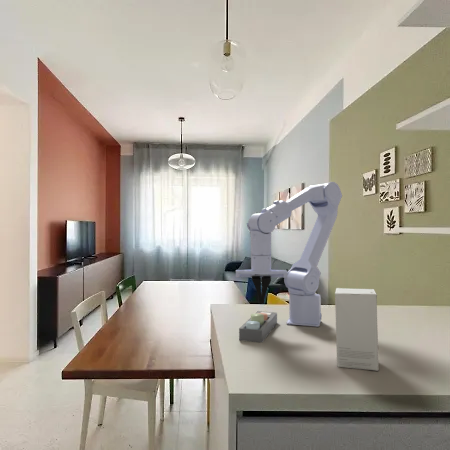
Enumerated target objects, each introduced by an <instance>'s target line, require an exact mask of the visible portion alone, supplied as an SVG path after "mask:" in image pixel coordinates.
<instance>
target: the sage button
mask: <svg viewBox="0 0 450 450" xmlns="http://www.w3.org/2000/svg"><path fill="white" fill-rule="evenodd" d="M250 318H251V321H257V322H259V323H260V325H264V315H263V314H258V313H256V312H255V313H251V314H250Z"/></svg>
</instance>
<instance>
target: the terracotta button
mask: <svg viewBox="0 0 450 450" xmlns="http://www.w3.org/2000/svg"><path fill="white" fill-rule="evenodd" d="M258 314H263V315H264V320H266V321H267V320H268V315H267V314H266V313H258Z"/></svg>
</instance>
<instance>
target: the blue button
mask: <svg viewBox="0 0 450 450" xmlns="http://www.w3.org/2000/svg"><path fill="white" fill-rule="evenodd" d="M245 323H246V329H255V330H259V329H260V323H259V322H257V321H249V322H247V321H245Z"/></svg>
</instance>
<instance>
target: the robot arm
mask: <svg viewBox="0 0 450 450" xmlns="http://www.w3.org/2000/svg"><path fill="white" fill-rule="evenodd" d="M342 197H343V194H342V191H341V187H340V186H339V185H338V183H337V182H335V181H329V182H324V183H319V184H310V185H309V186H307V187H304V189H302V190H301V191H300V192H298V193H296V194H295V195H293V196H292V197H290V198H288V199H287V200H278V199H277V200H274V201H273V202H272V205H270V206H268V207H265V208H261V209H260V212H259V213H257V212H256V213H253V214H251V216H250V217H249V218H248V222H247V223H246V225H247V226H246V227H247V229H248V231H249V233H250V255H251V256H250V267H251V268H250V269H236V270H235V278H251V280H252V282H253V285H254V289H255V290H256V293H257V297H258V298H257V299H258V304H265V298H266V294H267V291H268V289H269V286H270V284H271V281H272V278H284V279H283V280H284V284H285V287H286V288H287V290H288V293H289V295H288V296H289V302H288V303H289V305H288V307H289V310H288V311H289V316H288V317H289V318H288V319H287V320H286V323H285V324H287V325H294V326H296V325H297V326H306V327H318V328H320V325H321V322H322V314H323V313H322V311H321V310H322V304H321V303H322V299H321V298H322V297H321V296H322V295H321V294H319V293H316V291H318V288H320V287H319V286H320V277H321V274H322V273H321V271H320V269H319V268H318V266H319V262H320V259H321V257H322V254H323V252H324V250H325V247H326V245H327V242H328V240H329V237H330V235H331V232H332V230H333V227H334V226H335V222H336V220H337V217H338V213H339V212H338V209H339V205H340V203H341V199H342ZM307 203H309V204H310V206H311V208H312V209H313V211H314V212H315V213H316V214H317V217H316V220H315V222H314V224H313V227H312V229H311V232H310V235H309V236H308V239H307V241H306V244H305V247H304V248H303V251H302V254H301V255H300V258H299V259H298V260H297V261H295V262H294V263H293V264H292V265H291V268H290V269H289V270H287V269H272V232H273V231H275V228H276V226H278V225H279V224H281V223H283V222H285V221H286V220H288V219H289V218H290V217H291V216H292V211H295V210H296V209H298V208H300V207H302V206H304V205H305V204H307Z"/></svg>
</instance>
